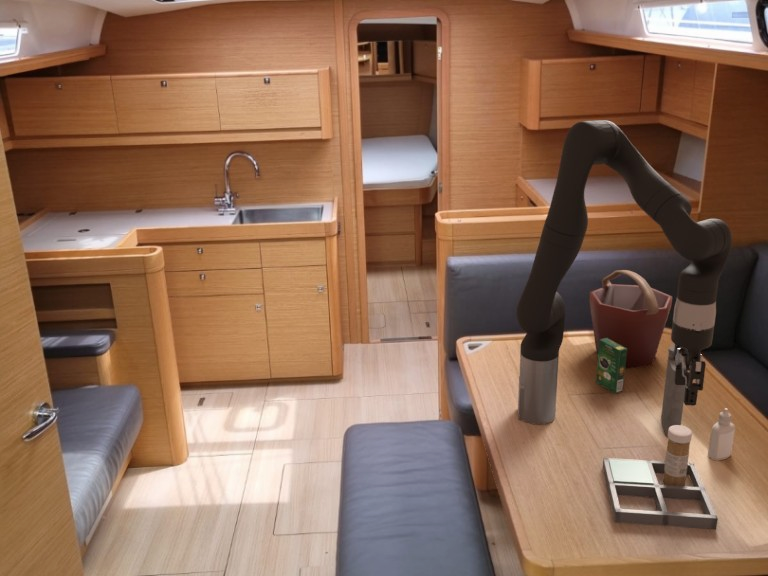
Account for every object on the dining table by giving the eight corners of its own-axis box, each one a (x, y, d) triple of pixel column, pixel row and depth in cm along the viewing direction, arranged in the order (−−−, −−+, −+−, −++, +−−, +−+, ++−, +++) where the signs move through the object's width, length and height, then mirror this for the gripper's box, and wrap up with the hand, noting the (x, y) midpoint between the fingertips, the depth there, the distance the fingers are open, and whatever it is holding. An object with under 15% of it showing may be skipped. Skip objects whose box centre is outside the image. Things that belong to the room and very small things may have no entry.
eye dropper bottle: (735, 460, 162) (743, 413, 158) (710, 461, 162) (717, 414, 158) (727, 450, 166) (734, 403, 162) (702, 450, 166) (709, 404, 162)
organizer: (614, 522, 144) (615, 510, 143) (602, 467, 161) (603, 456, 160) (716, 529, 141) (718, 517, 140) (692, 472, 159) (693, 461, 158)
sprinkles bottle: (676, 477, 157) (683, 422, 153) (689, 489, 153) (696, 433, 148) (657, 480, 156) (663, 425, 152) (670, 492, 152) (676, 437, 148)
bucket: (580, 339, 226) (585, 263, 218) (652, 338, 225) (660, 261, 217) (600, 374, 203) (606, 291, 195) (680, 373, 202) (690, 289, 194)
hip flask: (679, 440, 171) (689, 363, 164) (661, 437, 172) (670, 361, 165) (676, 407, 185) (684, 335, 178) (659, 405, 186) (667, 334, 179)
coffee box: (624, 392, 193) (628, 347, 189) (615, 395, 192) (619, 350, 188) (603, 380, 200) (606, 336, 196) (594, 382, 199) (598, 339, 194)
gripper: (665, 306, 149) (658, 377, 154) (681, 334, 136) (672, 410, 141) (704, 307, 148) (695, 379, 153) (724, 335, 135) (713, 412, 140)
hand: (684, 394), depth 147 cm, fingers open, 8 cm apart
